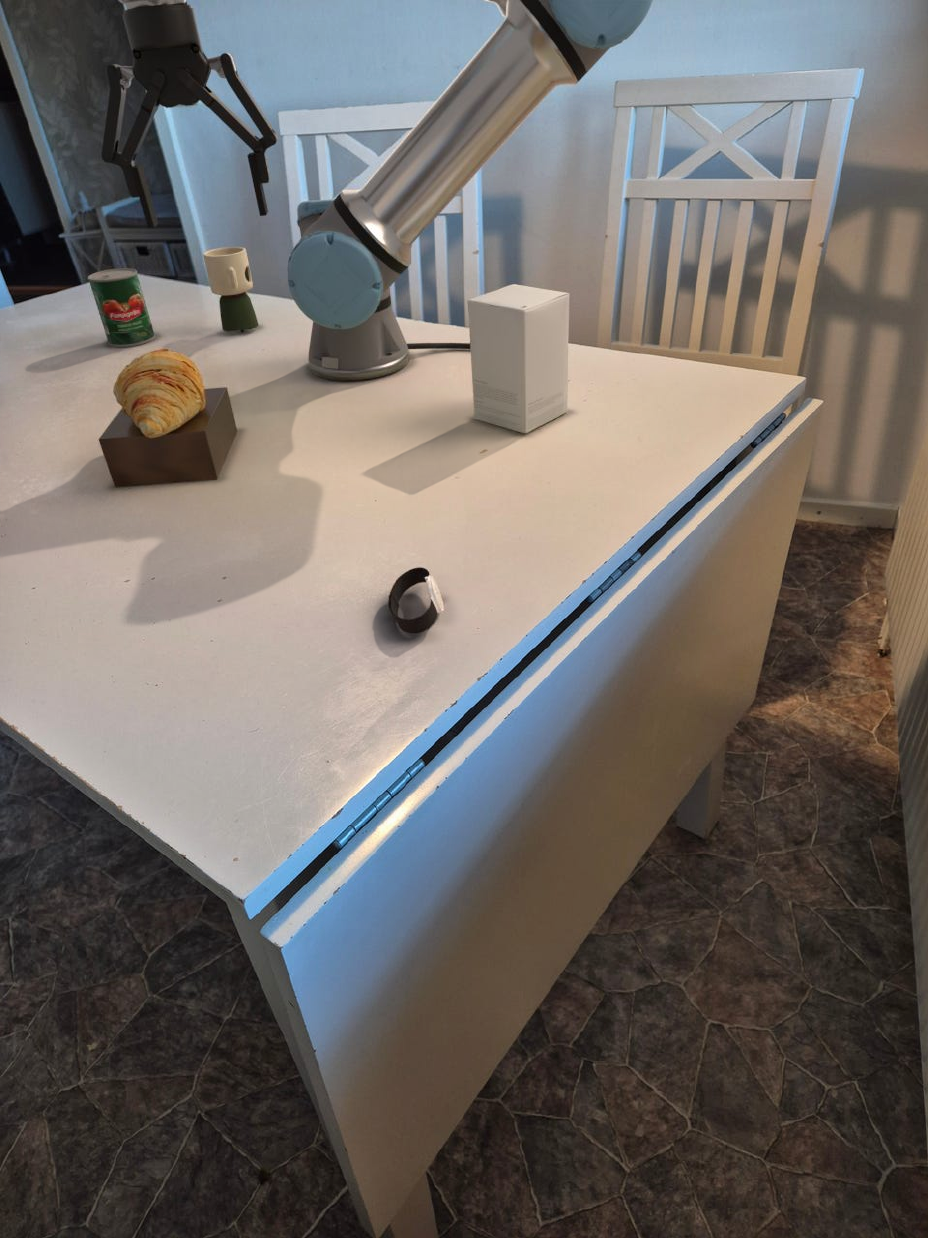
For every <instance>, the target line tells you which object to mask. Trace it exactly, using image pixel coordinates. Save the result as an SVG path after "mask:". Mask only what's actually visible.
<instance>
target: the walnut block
mask: <svg viewBox="0 0 928 1238" xmlns="http://www.w3.org/2000/svg"><path fill="white" fill-rule="evenodd" d="M204 391H205V399H206V406H205V408H204V409H203V410H202V411H199V412H198V414H196V415H195V416H194V417H193V418H192V419H190V420H189V421H187V422H186V423H184V424H183V425H182V426H180V427H179V428H177V429H176V430H173V431H171V432H169V433H167V434H165V435H162V436H159V437H155V438H149V437H146V436H145V435H144V434H143V433H142V432H141V429H140V428H138V427H137V426H136V425H135V423H134V422H133V420H132V419H131V417H128V416H126V415H125V413H124V412H123V409H122V408H121V409H120V410H119V411H118V413H117V414H116V415H115V417H114V418H113V419H112V421H110V423H109V424H108V426H107V427H106V429H105V430H104V432H102V434H101V435H100V437H99V438H98V442H99V445H100V448H101V451H102V454H103V457H104V460H105V462H106V465H107V468H108V471H109V474H110V477H111V481H112V483H113V486H114V488H121V487H122V488H123V487H134V486H137V487H138V486H148V485H149V486H150V485H162V484H174V483H187V482H201V481H210V480H212V481H214V480H218V479H219V477H220V475H221V472H222V469H223V467H224V464H225V462H226V460H227V457H228V455H229V452H230V450H231V448H232V445H233V443H234V442H235V441H234V440H235V438H236V436H237V434H238V427H237V424H236V420H235V419H236V418H235V415H234V411H233V407H232V403H231V398H230V394H229V390H228V387H227V386H225V387H212V388H209V387H208V388H204Z"/></svg>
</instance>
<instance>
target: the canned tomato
mask: <svg viewBox="0 0 928 1238" xmlns="http://www.w3.org/2000/svg"><path fill="white" fill-rule="evenodd" d="M138 275H139V274H138V271H137V270H136V269H134V268H127V267H125V268H113V269H112V268H111V269H105V270H101V271H97V272H94V273H91V274H89V275H88V276H87V280H88V282H89V286H90V289H91V292H92V295H93V299H94V301H95V305H96V307H97V310H98V314H99V317H100V320H101V323H102V327H103V329H104V333H105V336H106V339H107V343H108V345H109V346H110V347H115V348H128V347H135V346H140V345H145V344H147V343H150V342H152V341H153V340H154V339H155V338H156V334H155V332H154V328H153V325H152V321H151V317H150V314H149V310H148V306H147V302H146V299H145V296H144V292H143V289H142V285H141V281H140V278H139V276H138Z"/></svg>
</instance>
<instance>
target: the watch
mask: <svg viewBox="0 0 928 1238" xmlns="http://www.w3.org/2000/svg"><path fill="white" fill-rule="evenodd" d="M422 583H426V587H427V588H426V589H427V592H428V595H429V598H430V605H429V607H428V609H427V610H426V611H425V612H424V613H422V614H421V615H420V616H418V617H414V618H411V619H409V618H408V619H406V618H401V617H400V616H399V608H400V600H401V598H402V597H403V595H404V594H405V593H406V592H407V590H409V589H410V588H412V587H414V586H416V585H418V584H422ZM388 607H389V610H390V612H391V614H392V616H393V618H394V619H395V622H396V624H397V626H398V627H399V628H400V630H401V631H402V632H405V633H406V634H412V635H414V634H415V635H416V634H421V633H423V632H426V631H428V630H429V629H431V628H432V627H433V626H434V624H435V623H436V620H437V618H438V616H439V614H440V613H441V612H444V602H443V597H442V595H441V591H440V589H439V586H438V583H437V580H436V578H435V577H434V576H432V575H431V574H430V571H429V570H428V569H427V568H424V567H414V568H413V567H412V568H411V569H408V570H407V571H405V572H404V573H402V574H401V575H399V577H397V579H396V580H395V582H394V583H393V585H392V587H391V590H390V592H389V594H388Z"/></svg>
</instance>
